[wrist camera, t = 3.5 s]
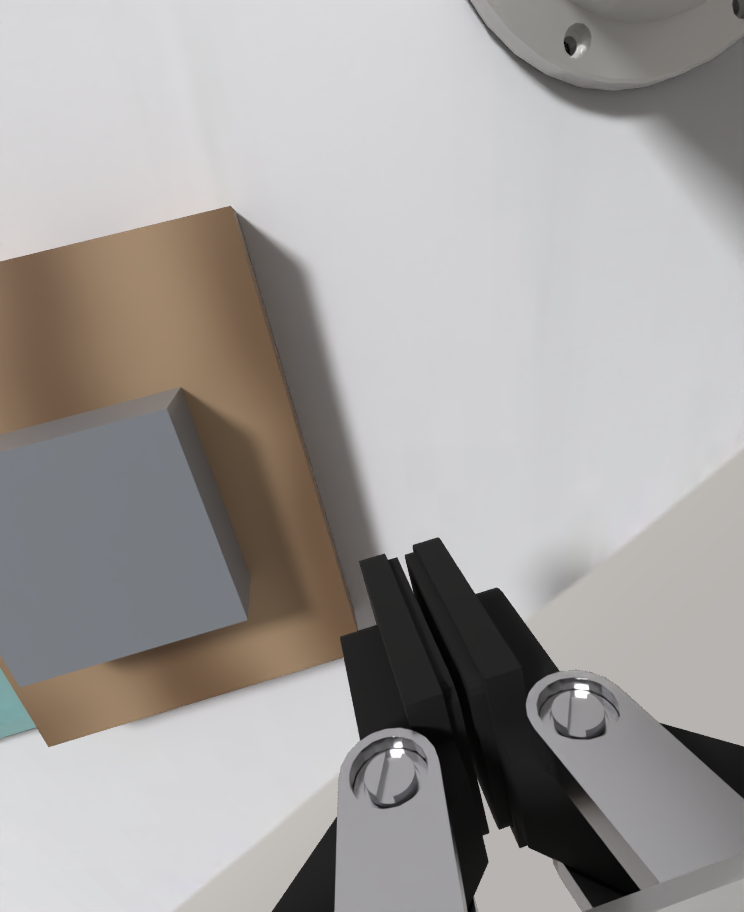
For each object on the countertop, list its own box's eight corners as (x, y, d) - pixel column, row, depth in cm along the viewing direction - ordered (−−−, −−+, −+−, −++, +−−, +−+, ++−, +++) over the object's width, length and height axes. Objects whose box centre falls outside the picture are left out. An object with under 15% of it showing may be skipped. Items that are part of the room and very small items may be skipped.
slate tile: (180, 386, 17) (166, 408, 15) (250, 576, 20) (247, 620, 17) (-53, 448, 17) (-106, 480, 14) (50, 635, 19) (20, 687, 17)
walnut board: (236, 211, 18) (230, 205, 16) (354, 612, 24) (362, 651, 22) (-151, 305, 17) (-216, 313, 15) (71, 697, 23) (48, 747, 21)
